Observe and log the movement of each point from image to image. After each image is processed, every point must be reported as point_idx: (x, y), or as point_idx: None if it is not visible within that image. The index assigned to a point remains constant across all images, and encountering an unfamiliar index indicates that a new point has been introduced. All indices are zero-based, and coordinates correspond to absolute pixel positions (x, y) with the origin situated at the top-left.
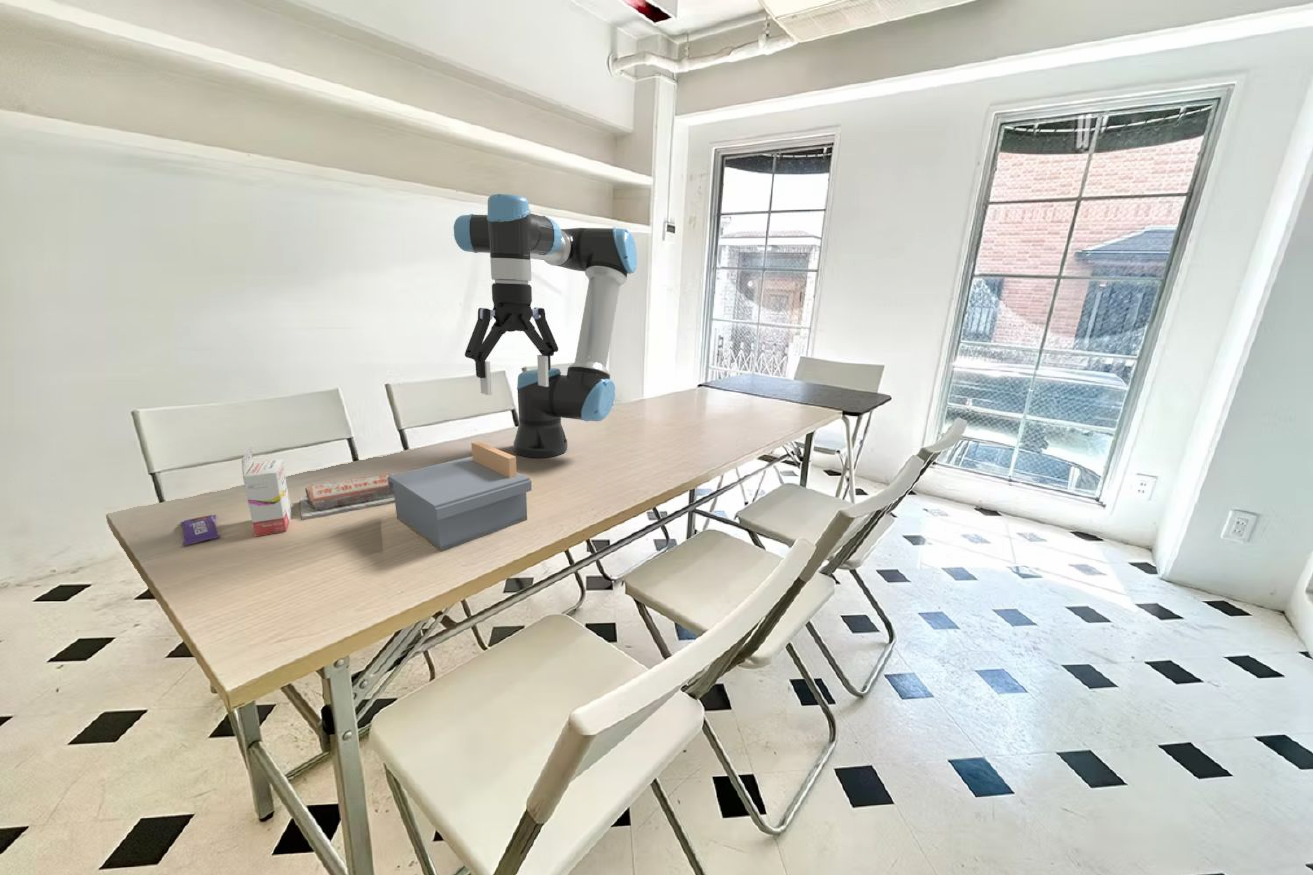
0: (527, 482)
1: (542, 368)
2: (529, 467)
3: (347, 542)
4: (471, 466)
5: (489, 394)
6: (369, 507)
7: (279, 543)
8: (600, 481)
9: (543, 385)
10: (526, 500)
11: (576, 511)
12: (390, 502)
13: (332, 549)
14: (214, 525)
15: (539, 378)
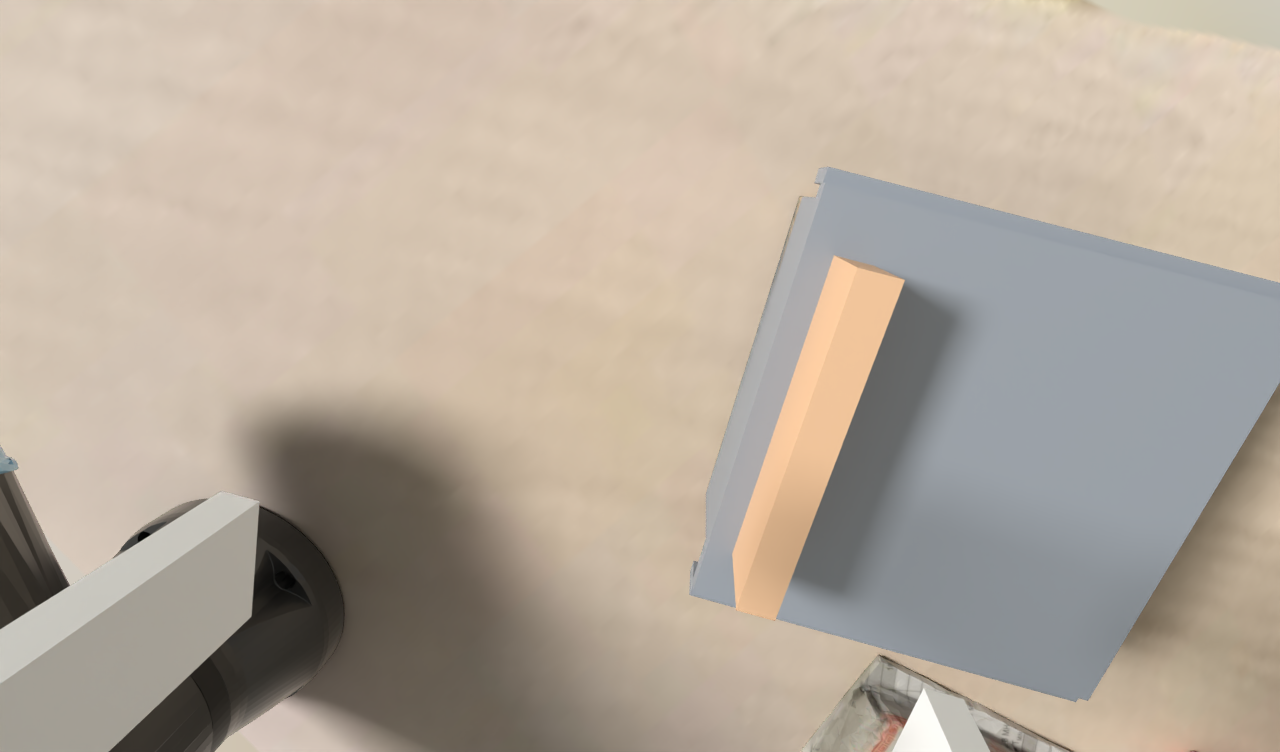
0: (849, 172)
1: (60, 701)
2: (408, 514)
3: (1186, 569)
4: (834, 513)
5: (950, 701)
6: (962, 696)
7: (1257, 708)
8: (334, 181)
9: (249, 542)
10: (812, 197)
11: (635, 75)
12: (911, 672)
13: (1240, 569)
14: None
15: (192, 649)
